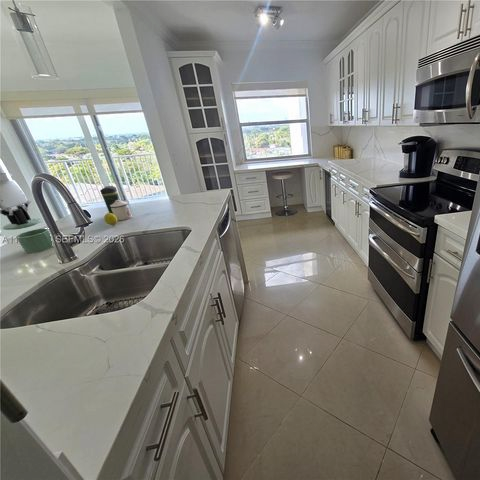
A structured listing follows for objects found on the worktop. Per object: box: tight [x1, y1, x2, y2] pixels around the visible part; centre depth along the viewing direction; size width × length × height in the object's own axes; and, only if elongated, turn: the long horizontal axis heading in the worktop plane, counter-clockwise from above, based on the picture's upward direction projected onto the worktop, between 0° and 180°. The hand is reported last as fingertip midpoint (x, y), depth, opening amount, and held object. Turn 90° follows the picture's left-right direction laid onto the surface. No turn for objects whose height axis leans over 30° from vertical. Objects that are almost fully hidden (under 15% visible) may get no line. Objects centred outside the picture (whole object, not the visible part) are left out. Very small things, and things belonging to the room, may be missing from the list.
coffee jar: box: [99, 185, 122, 214], centre depth 164 cm, size 10×8×19 cm
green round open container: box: [15, 227, 54, 254], centre depth 123 cm, size 11×11×8 cm
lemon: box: [103, 212, 118, 227], centre depth 147 cm, size 6×6×8 cm
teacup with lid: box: [110, 200, 133, 221], centre depth 159 cm, size 12×9×12 cm
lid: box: [2, 208, 43, 231], centre depth 108 cm, size 12×12×7 cm
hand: (21, 221), depth 109 cm, fingers closed on lid, 3 cm apart
